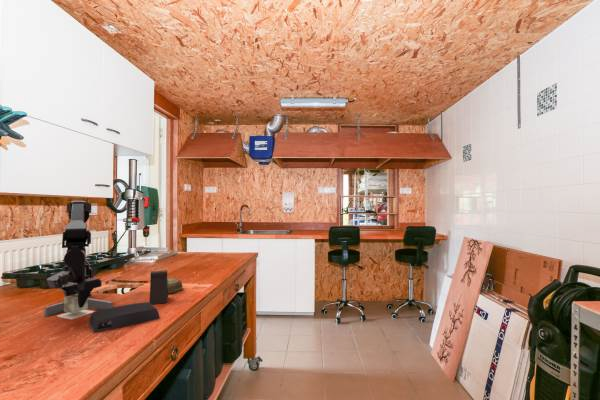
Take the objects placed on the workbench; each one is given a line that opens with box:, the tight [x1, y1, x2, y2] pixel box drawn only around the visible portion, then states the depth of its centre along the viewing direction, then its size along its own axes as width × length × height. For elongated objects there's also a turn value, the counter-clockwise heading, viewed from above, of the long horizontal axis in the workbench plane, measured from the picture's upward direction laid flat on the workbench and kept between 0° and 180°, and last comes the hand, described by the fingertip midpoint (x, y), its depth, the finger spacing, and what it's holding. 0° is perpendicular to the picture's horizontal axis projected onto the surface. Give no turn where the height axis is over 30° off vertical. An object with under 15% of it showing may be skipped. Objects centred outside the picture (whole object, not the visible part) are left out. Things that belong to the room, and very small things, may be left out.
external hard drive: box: [88, 301, 161, 334], centre depth 108 cm, size 13×19×4 cm
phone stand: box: [148, 270, 169, 305], centre depth 129 cm, size 9×6×12 cm, turn 17°
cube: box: [63, 294, 89, 313], centre depth 114 cm, size 5×5×5 cm
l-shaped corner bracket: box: [43, 297, 114, 321], centre depth 115 cm, size 17×13×3 cm
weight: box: [167, 277, 183, 294], centre depth 145 cm, size 14×13×5 cm
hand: (76, 306), depth 114 cm, fingers closed on cube, 5 cm apart
